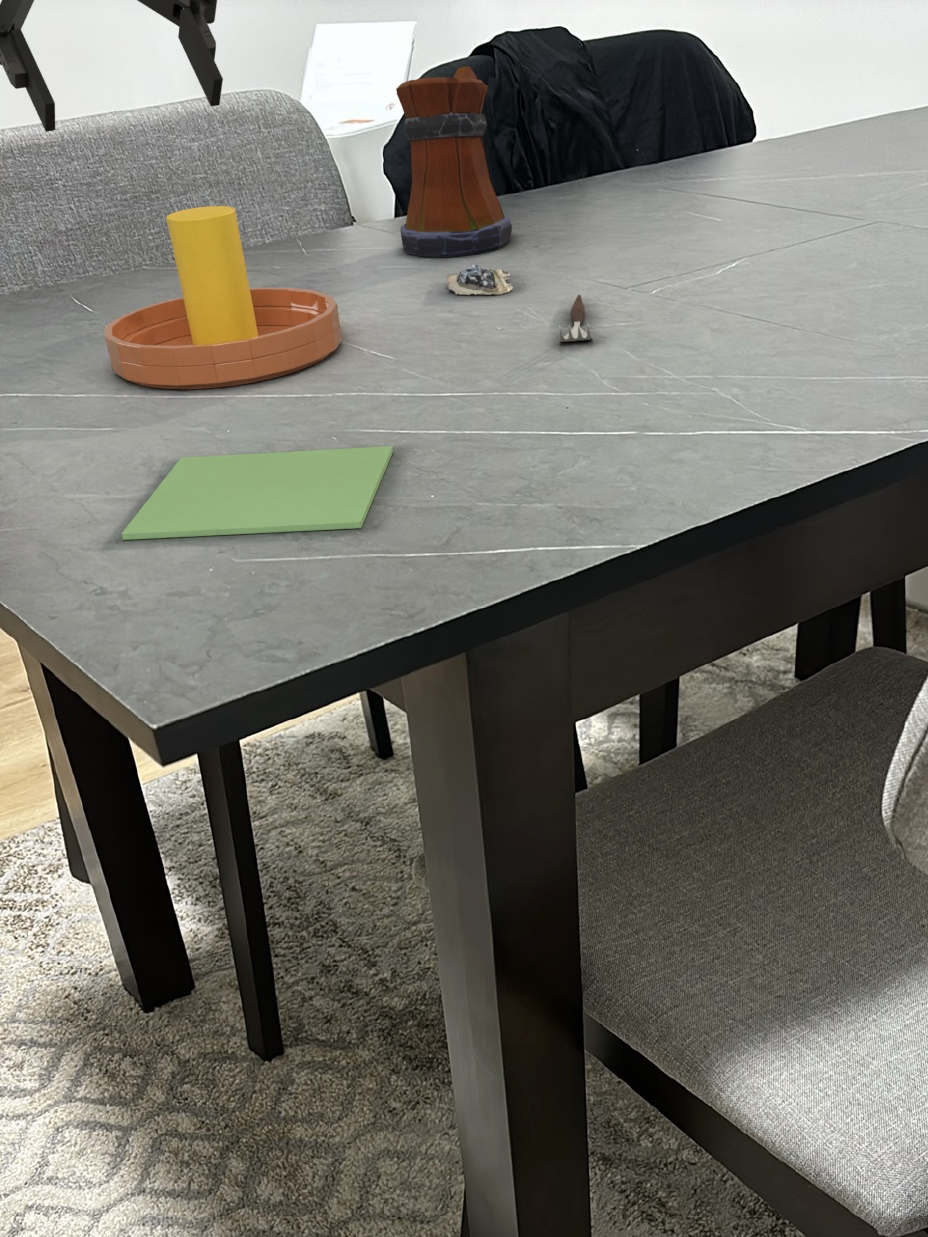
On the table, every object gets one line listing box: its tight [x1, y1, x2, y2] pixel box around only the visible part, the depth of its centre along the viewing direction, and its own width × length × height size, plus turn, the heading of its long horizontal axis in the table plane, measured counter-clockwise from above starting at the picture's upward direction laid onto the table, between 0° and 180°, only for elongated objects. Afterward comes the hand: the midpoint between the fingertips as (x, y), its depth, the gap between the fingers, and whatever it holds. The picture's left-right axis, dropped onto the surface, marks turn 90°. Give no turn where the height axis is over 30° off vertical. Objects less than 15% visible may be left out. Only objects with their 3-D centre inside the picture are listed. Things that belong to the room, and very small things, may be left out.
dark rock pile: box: [445, 263, 514, 296], centre depth 120 cm, size 7×8×2 cm
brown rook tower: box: [395, 66, 513, 258], centre depth 134 cm, size 18×12×15 cm, turn 171°
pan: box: [104, 287, 343, 390], centre depth 107 cm, size 18×18×3 cm
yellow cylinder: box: [166, 205, 258, 345], centre depth 104 cm, size 5×5×10 cm
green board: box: [121, 445, 394, 541], centre depth 81 cm, size 14×13×1 cm
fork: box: [558, 294, 594, 343], centre depth 107 cm, size 3×16×2 cm, turn 177°
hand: (135, 105), depth 105 cm, fingers open, 13 cm apart
